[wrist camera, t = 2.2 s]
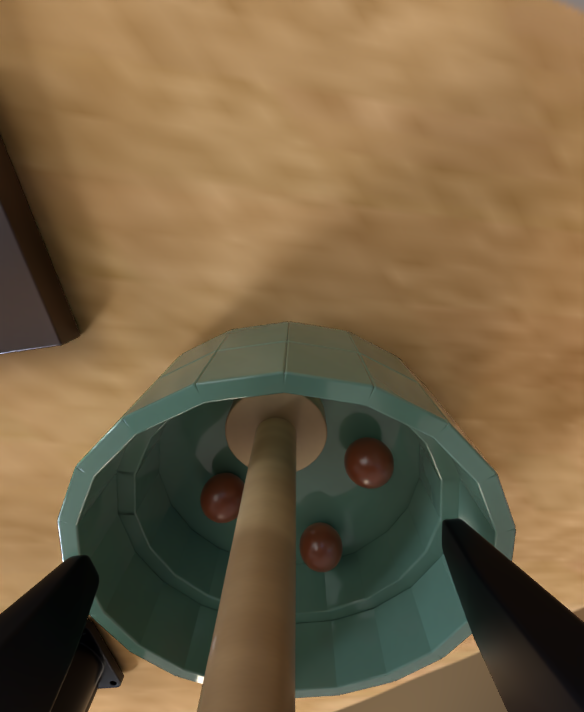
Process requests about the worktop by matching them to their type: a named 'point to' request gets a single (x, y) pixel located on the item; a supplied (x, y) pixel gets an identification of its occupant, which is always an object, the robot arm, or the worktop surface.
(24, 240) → the dark grey slate tile
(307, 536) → the bead
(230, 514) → the bead
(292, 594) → the wooden pestle
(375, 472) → the bead
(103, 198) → the worktop surface
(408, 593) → the bowl
